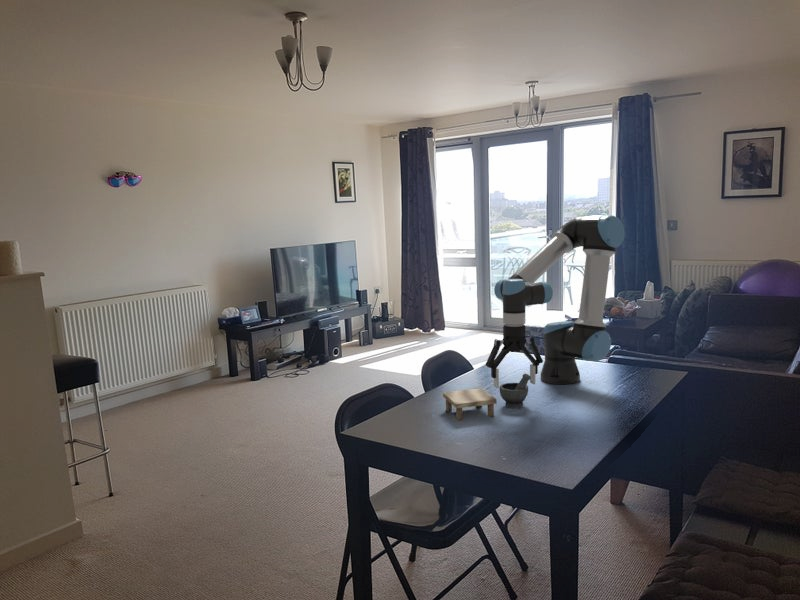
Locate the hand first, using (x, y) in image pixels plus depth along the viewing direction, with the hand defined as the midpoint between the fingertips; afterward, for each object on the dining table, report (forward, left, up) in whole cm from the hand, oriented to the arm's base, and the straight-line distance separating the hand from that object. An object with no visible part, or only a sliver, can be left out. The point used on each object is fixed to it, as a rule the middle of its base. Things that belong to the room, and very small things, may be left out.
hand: (514, 385), depth 206 cm
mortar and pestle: (0, 0, -8) cm, 8 cm away
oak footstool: (+17, +1, -7) cm, 19 cm away
